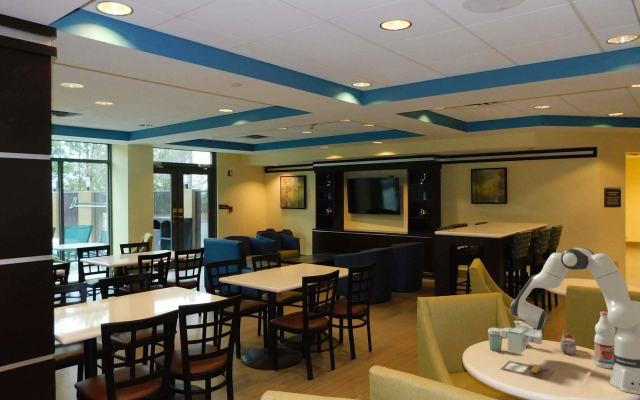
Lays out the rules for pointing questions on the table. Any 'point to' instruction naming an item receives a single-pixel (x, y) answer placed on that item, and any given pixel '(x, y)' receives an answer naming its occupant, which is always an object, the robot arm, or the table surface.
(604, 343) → the fruit juice
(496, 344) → the coffee cup
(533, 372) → the amber marble
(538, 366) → the amber marble
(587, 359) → the table surface
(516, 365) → the walnut board
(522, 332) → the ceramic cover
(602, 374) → the table surface
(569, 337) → the food item
